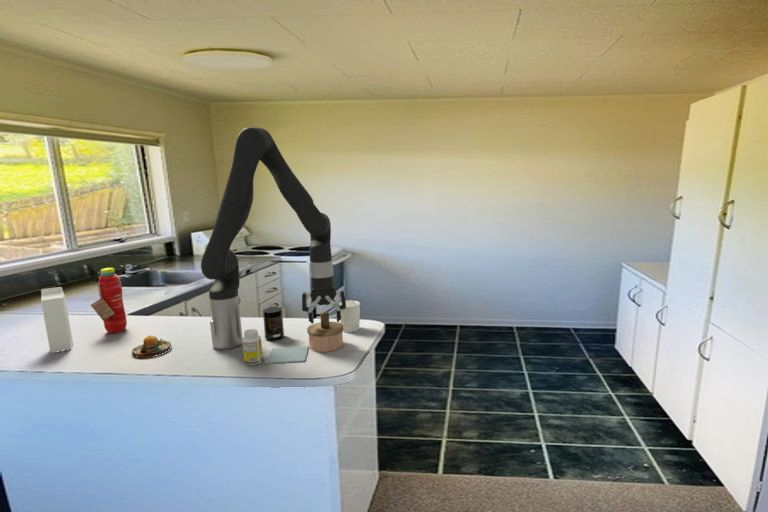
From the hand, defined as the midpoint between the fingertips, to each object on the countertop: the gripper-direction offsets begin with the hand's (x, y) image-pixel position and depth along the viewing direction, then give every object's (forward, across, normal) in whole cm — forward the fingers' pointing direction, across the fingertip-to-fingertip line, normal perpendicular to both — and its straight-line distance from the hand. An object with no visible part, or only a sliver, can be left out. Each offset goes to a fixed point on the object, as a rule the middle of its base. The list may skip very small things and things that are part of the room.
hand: (325, 322), depth 149 cm
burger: (+8, -59, +5) cm, 60 cm away
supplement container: (+8, -19, +11) cm, 24 cm away
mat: (+8, -12, -6) cm, 16 cm away
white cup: (+9, +8, +15) cm, 19 cm away
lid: (+3, 0, 0) cm, 3 cm away
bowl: (+8, 0, 0) cm, 8 cm away
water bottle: (+8, -83, +28) cm, 88 cm away
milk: (+8, -93, +13) cm, 94 cm away
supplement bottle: (+8, -22, -10) cm, 26 cm away
